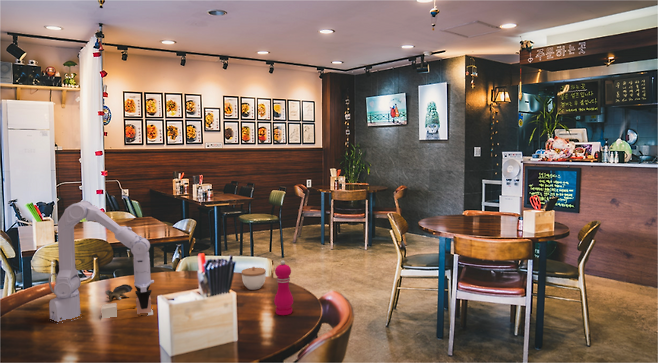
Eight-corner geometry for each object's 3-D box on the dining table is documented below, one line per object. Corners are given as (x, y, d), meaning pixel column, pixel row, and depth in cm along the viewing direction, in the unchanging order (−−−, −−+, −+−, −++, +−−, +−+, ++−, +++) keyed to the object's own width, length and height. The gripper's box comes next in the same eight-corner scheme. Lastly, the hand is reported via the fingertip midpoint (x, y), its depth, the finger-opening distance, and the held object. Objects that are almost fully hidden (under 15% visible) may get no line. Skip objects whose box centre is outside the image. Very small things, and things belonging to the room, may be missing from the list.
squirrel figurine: (117, 302, 184) (136, 292, 192) (108, 287, 185) (127, 278, 192) (109, 309, 189) (128, 299, 196) (100, 294, 189) (119, 285, 197)
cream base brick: (101, 319, 167) (101, 308, 167) (102, 315, 172) (101, 304, 171) (116, 317, 169) (116, 306, 169) (117, 313, 174) (116, 302, 174)
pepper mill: (290, 316, 169) (289, 263, 167) (271, 315, 170) (270, 262, 169) (295, 309, 176) (294, 258, 174) (277, 308, 177) (276, 257, 176)
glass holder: (83, 297, 195) (81, 262, 194) (61, 309, 181) (59, 271, 180) (64, 297, 196) (62, 262, 195) (40, 308, 182) (38, 271, 181)
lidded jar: (239, 286, 207) (238, 265, 207) (262, 282, 212) (261, 262, 211) (245, 292, 198) (244, 271, 197) (269, 289, 202) (268, 268, 202)
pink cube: (137, 314, 172) (136, 301, 172) (136, 309, 177) (136, 297, 176) (151, 312, 174) (150, 299, 174) (150, 307, 179) (150, 295, 178)
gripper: (154, 273, 169) (156, 309, 170) (152, 265, 183) (154, 298, 184) (133, 276, 167) (135, 312, 168) (133, 267, 180) (134, 301, 181)
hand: (143, 305), depth 175 cm, fingers open, 7 cm apart
